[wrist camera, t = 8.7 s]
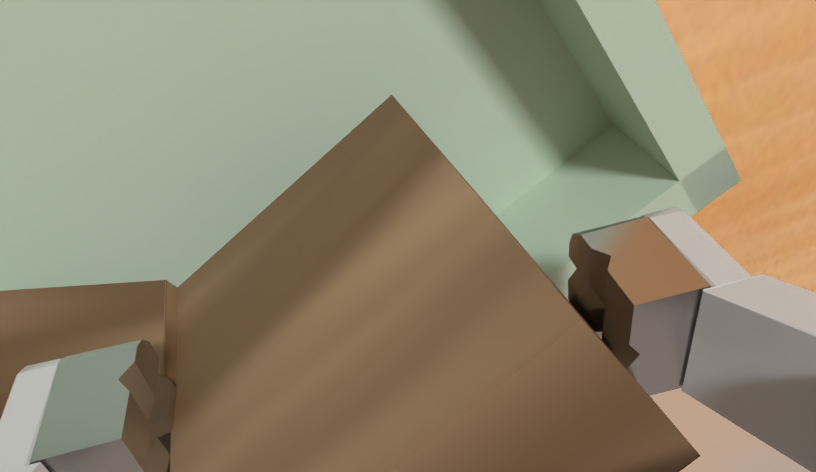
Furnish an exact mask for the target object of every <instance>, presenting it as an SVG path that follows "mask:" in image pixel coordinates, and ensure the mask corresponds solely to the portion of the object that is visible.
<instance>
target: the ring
mask: <svg viewBox="0 0 816 472" xmlns="http://www.w3.org/2000/svg"><path fill="white" fill-rule="evenodd" d="M138 340H145V341H149V342H150V343H151V345H152V347H153V348H154V350H155V352H156V353H157V355H158V357H159V358H160V359H159V368H158V374H159V375H161V376H163V377H165V378H167V379H170V380H172V382H173V384H174V386H175V388H176V390H177V394H176V404H175V415H174V425H173V429H172V431H171V450H170V472H679V471H680V470H682V469H683V468H685V467H686V466H687V465H689V464H690V463H691V462H693V461H694V460H695V459H697V458H698V457H699V456H700V455H699V454H698V452H697V451H696V450H695V449H694V448H693V447H692V445H691V444H690V443H689V442H688V441H687V440H686V438H685V437H684V436H683V435H682V434H681V433H680V431H679V430H678V429H677V428H676V427H675V425H674V424H673V423H672V422H671V421H670V420H669V418H668V417H667V416H666V415H665V414H664V412H663V411H662V410H661V409H660V408H659V407H658V405H657V404H656V403H655V402H654V401H653V399H652V398H651V397H650V396H649V395H648V394H647V392H646V391H645V390H644V389H643V388H642V387H641V385H640V384H639V383H638V382H637V381H636V379H635V378H634V377H633V376H632V375H631V374H630V373H629V371H628V370H627V369H626V368H625V367H624V366H623V364H622V363H621V362H620V361H619V360H618V359H617V357H616V356H615V355H614V354H613V353H612V351H611V350H610V349H609V348H608V347H607V346H606V344H605V343H604V342H603V341H602V339H601V338H600V337H599V336H598V335H597V334H596V332H595V331H594V330H593V329H592V328H591V327H590V325H589V324H588V323H587V322H586V321H585V320H584V318H583V317H582V316H581V315H580V314H579V312H578V311H577V310H576V309H575V308H574V307H573V305H572V304H571V303H570V302H569V301H568V299H567V298H566V297H565V296H564V295H563V294H562V292H561V291H560V290H559V289H558V288H557V286H556V285H555V284H554V283H553V282H552V281H551V279H550V278H549V277H548V276H547V275H546V274H545V272H544V271H543V270H542V269H541V268H540V266H539V265H538V264H537V263H536V262H535V261H534V259H533V258H532V257H531V256H530V255H529V254H528V252H527V251H526V250H525V249H524V248H523V246H522V245H521V244H520V243H519V242H518V241H517V239H516V238H515V237H514V236H513V235H512V233H511V232H510V231H509V230H508V229H507V228H506V226H505V225H504V224H503V223H502V222H501V221H500V219H499V218H498V217H497V216H496V215H495V213H494V212H493V211H492V210H491V209H490V208H489V206H488V205H487V204H486V203H485V202H484V201H483V199H482V198H481V197H480V196H479V195H478V194H477V193H476V191H475V190H474V189H473V188H472V187H471V186H470V184H469V183H468V182H467V181H466V180H465V179H464V177H463V176H462V175H461V174H460V173H459V172H458V171H457V169H456V168H455V167H454V166H453V165H452V164H451V162H450V161H449V160H448V159H447V158H446V157H445V155H444V154H443V153H442V152H441V151H440V150H439V149H438V147H437V146H436V145H435V144H434V143H433V142H432V140H431V139H430V138H429V137H428V136H427V135H426V133H425V132H424V131H423V130H422V129H421V128H420V127H419V125H418V124H417V123H416V122H415V121H414V120H413V118H412V117H411V116H410V115H409V114H408V113H407V111H406V110H405V109H404V108H403V107H402V106H401V105H400V103H399V102H398V101H397V100H396V99H395V98H394V96H393V95H391V96H390V97H388V98H387V99H386V100H385V101H384V102H383V103H382V104H381V105H380V106H378V107H377V108H376V109H375V110H374V111H373V112H372V113H371V114H370V115H368V116H367V117H366V118H365V119H364V120H363V121H362V122H361V123H360V124H359V125H357V126H356V127H355V128H354V129H353V130H352V131H351V132H350V133H349V134H347V135H346V136H345V137H344V138H343V139H342V140H341V141H340V142H339V143H337V144H336V145H335V146H334V147H333V148H332V149H331V150H330V151H329V152H327V153H326V154H325V155H324V156H323V157H322V158H321V159H320V160H319V161H317V162H316V163H315V164H314V165H313V166H312V167H311V168H310V169H309V170H307V171H306V172H305V173H304V174H303V175H302V176H301V177H300V178H299V179H297V180H296V181H295V182H294V183H293V184H292V185H291V186H290V187H289V188H287V189H286V190H285V191H284V192H283V193H282V194H281V195H280V196H279V197H277V198H276V199H275V200H274V201H273V202H272V203H271V204H270V205H269V206H267V207H266V208H265V209H264V210H263V211H262V212H261V213H260V214H259V215H257V216H256V217H255V218H254V219H253V220H252V221H251V222H250V223H249V224H247V225H246V226H245V227H244V228H243V229H242V230H241V231H240V232H239V233H237V234H236V235H235V236H234V237H233V238H232V239H231V240H230V241H229V242H227V243H226V244H225V245H224V246H223V247H222V248H221V249H220V250H219V251H217V252H216V253H215V254H214V255H213V256H212V257H211V258H210V259H209V260H207V261H206V262H205V263H204V264H203V265H202V266H201V267H200V268H199V269H197V270H196V271H195V272H194V273H193V274H192V275H191V276H190V277H189V278H187V279H186V280H185V281H184V282H183V283H182V284H181V285H180V286H179V287H176V286H175V285H173V284H172V283H170V282H169V281H167V280H157V281H142V282H126V283H111V284H96V285H80V286H65V287H50V288H35V289H19V290H4V291H0V419H1V416H2V413H3V411H4V408H5V405H6V402H7V400H8V397H9V394H10V391H11V389H12V386H13V383H14V380H15V378H16V376H17V374H18V373H19V372H20V371H21V370H22V369H23V368H24V367H26V366H29V365H33V364H38V363H42V362H47V361H51V360H56V359H61V358H65V357H66V356H70V355H75V354H79V353H84V352H88V351H93V350H97V349H102V348H106V347H111V346H115V345H120V344H124V343H129V342H133V341H138Z"/></svg>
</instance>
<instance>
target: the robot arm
mask: <svg viewBox="0 0 816 472" xmlns="http://www.w3.org/2000/svg"><path fill="white" fill-rule="evenodd" d="M569 258H570V259H571V261H572V262H573V264H574V265H575V267H576V268H577V269H576V270H575V271H574V273H573V274H572V275H571V277H570V278H569V279H568V300H569V302H570V303H571V304H572V305H573V307H574V308H575V309H576V310H577V311H578V312H579V314H580V315H581V316H582V317H583V318H584V320H585V321H586V322H587V323H588V324H589V325H590V327H591V328H592V329H593V330H594V331H595V332H596V334H597V335H598V336H599V337H600V338H601V339H602V341H603V342H604V343H605V344H606V346H607V347H608V348H609V349H610V350H611V351H612V353H613V354H614V355H615V356H616V357H617V359H618V360H619V361H620V362H621V363H622V364H623V366H624V367H625V368H626V369H627V370H628V371H629V373H630V374H631V375H632V376H633V377H634V378H635V379H636V381H637V382H638V383H639V384H640V385H641V387H642V388H643V389H644V390H645V391H646V392H647V394H648V395H653V394H658V393H661V392H665V391H669V390H674V389H678V388H682V391H683V392H685V393H686V394H688V395H690V396H691V397H693V398H694V399H696V400H698V401H699V402H701V403H703V404H704V405H706V406H707V407H709V408H710V409H712V410H714V411H715V412H717V413H719V414H720V415H721V416H723V417H725V418H726V419H728V420H730V421H731V422H733V423H734V424H736V425H737V426H739V427H741V428H742V429H744V430H745V431H747V432H749V433H750V434H752V435H753V436H755V437H757V438H758V439H760V440H762V441H763V442H765V443H766V444H768V445H769V446H771V447H773V448H774V449H776V450H777V451H779V452H781V453H782V454H784V455H785V456H787V457H789V458H790V459H792V460H793V461H795V462H797V463H798V464H800V465H801V466H803V467H805V468H806V469H808V470H810V471H811V472H816V293H814V292H812V291H809V290H806V289H803V288H800V287H797V286H795V285H792V284H789V283H786V282H783V281H780V280H778V279H775V278H772V277H769V276H766V275H763V274H762V275H758V276H754V277H752V276H751V275H750V274H749V273H748V272H747V271H746V270H745V269H744V268H742V267H741V266H740V265H739V264H738V263H737V262H736V261H735V260H734V259H733V258H732V257H731V256H730V255H729V254H728V253H727V252H726V251H725V250H724V249H723V248H722V247H721V246H720V245H719V244H718V243H717V242H716V241H715V240H714V239H713V238H712V237H711V236H709V235H708V234H707V233H706V232H705V231H704V230H703V229H702V228H701V227H700V226H699V225H698V224H697V223H696V222H695V221H694V220H693V219H692V218H691V217H690V216H689V215H688V214H687V213H686V212H685V211H684V210H682V209H679V208H676V207H672V208H668V209H664V210H660V211H657V212H653V213H649V214H645V215H642V216H640V217H637V218H632V219H628V220H625V221H621V222H617V223H613V224H609V225H605V226H601V227H597V228H593V229H589V230H585V231H581V232H577V233H573V234H572V237H571V239H570V242H569ZM159 359H160V358H159V357H158V355H157V353H156V352H155V350H154V348H153V347H152V345H151V343H150V342H149V341H145V340H138V341H133V342H129V343H124V344H120V345H115V346H111V347H106V348H102V349H97V350H93V351H88V352H84V353H79V354H75V355H70V356H66V357H65V358H61V359H56V360H51V361H47V362H42V363H38V364H33V365H29V366H26V367H24V368H23V369H22V370H21V371H20V372H19V373H18V374H17V376H16V378H15V380H14V383H13V386H12V389H11V391H10V394H9V397H8V400H7V402H6V405H5V408H4V411H3V413H2V416H1V419H0V472H170V450H171V431H172V429H173V425H174V415H175V404H176V394H177V390H176V388H175V386H174V384H173V382H172V380H170V379H167V378H165V377H163V376H161V375H159V374H158V368H159Z"/></svg>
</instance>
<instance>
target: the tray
mask: <svg viewBox="0 0 816 472" xmlns="http://www.w3.org/2000/svg"><path fill="white" fill-rule="evenodd" d="M391 95H393V96H394V98H395V99H396V100H397V101H398V102H399V103H400V105H401V106H402V107H403V108H404V109H405V110H406V111H407V113H408V114H409V115H410V116H411V117H412V118H413V120H414V121H415V122H416V123H417V124H418V125H419V127H420V128H421V129H422V130H423V131H424V132H425V133H426V135H427V136H428V137H429V138H430V139H431V140H432V142H433V143H434V144H435V145H436V146H437V147H438V149H439V150H440V151H441V152H442V153H443V154H444V155H445V157H446V158H447V159H448V160H449V161H450V162H451V164H452V165H453V166H454V167H455V168H456V169H457V171H458V172H459V173H460V174H461V175H462V176H463V177H464V179H465V180H466V181H467V182H468V183H469V184H470V186H471V187H472V188H473V189H474V190H475V191H476V193H477V194H478V195H479V196H480V197H481V198H482V199H483V201H484V202H485V203H486V204H487V205H488V206H489V208H490V209H491V210H492V211H493V212H494V213H495V215H496V216H497V217H498V218H499V219H500V221H501V222H502V223H503V224H504V225H505V226H506V228H507V229H508V230H509V231H510V232H511V233H512V235H513V236H514V237H515V238H516V239H517V241H518V242H519V243H520V244H521V245H522V246H523V248H524V249H525V250H526V251H527V252H528V254H529V255H530V256H531V257H532V258H533V259H534V261H535V262H536V263H537V264H538V265H539V266H540V268H541V269H542V270H543V271H544V272H545V274H546V275H547V276H548V277H549V278H550V279H551V281H552V282H553V283H554V284H555V285H556V286H557V288H558V289H559V290H560V291H561V292H562V294H563V295H564V296H565V297H566V298H567V299H568V279H569V278H570V277H571V275H572V274H573V273H574V271H575V270H576V269H577V268H576V267H575V265H574V264H573V262H572V261H571V259H570V258H569V242H570V239H571V237H572V234H573V233H577V232H581V231H585V230H589V229H593V228H597V227H601V226H605V225H609V224H613V223H617V222H621V221H625V220H628V219H632V218H637V217H640V216H642V215H645V214H649V213H653V212H657V211H660V210H664V209H668V208H672V207H676V208H679V209H682V210H684V211H685V212H686V213H687V214H688V215H689V216H690V217H691V216H692V215H694V214H695V213H696V212H698V211H699V210H701V209H702V208H703V207H705V206H706V205H708V204H709V203H710V202H712V201H713V200H715V199H716V198H717V197H719V196H720V195H721V194H723V193H724V192H726V191H727V190H728V189H730V188H731V187H733V186H734V185H735V184H737V183H738V182H740V181H741V179H740V177H739V175H738V173H737V170H736V168H735V166H734V164H733V162H732V160H731V158H730V156H729V154H728V152H727V149H726V147H725V145H724V143H723V141H722V139H721V137H720V135H719V133H718V131H717V128H716V126H715V124H714V122H713V120H712V118H711V116H710V114H709V112H708V110H707V108H706V105H705V103H704V101H703V99H702V97H701V95H700V93H699V91H698V89H697V87H696V84H695V82H694V80H693V78H692V76H691V74H690V72H689V70H688V68H687V66H686V63H685V61H684V59H683V57H682V55H681V53H680V51H679V49H678V47H677V45H676V42H675V40H674V38H673V36H672V34H671V32H670V30H669V28H668V26H667V24H666V22H665V19H664V17H663V15H662V13H661V11H660V9H659V7H658V5H657V3H656V1H655V0H0V291H4V290H19V289H35V288H50V287H65V286H80V285H96V284H111V283H126V282H142V281H157V280H167V281H169V282H170V283H172V284H173V285H175V286H176V287H179V286H180V285H181V284H182V283H183V282H184V281H185V280H186V279H187V278H189V277H190V276H191V275H192V274H193V273H194V272H195V271H196V270H197V269H199V268H200V267H201V266H202V265H203V264H204V263H205V262H206V261H207V260H209V259H210V258H211V257H212V256H213V255H214V254H215V253H216V252H217V251H219V250H220V249H221V248H222V247H223V246H224V245H225V244H226V243H227V242H229V241H230V240H231V239H232V238H233V237H234V236H235V235H236V234H237V233H239V232H240V231H241V230H242V229H243V228H244V227H245V226H246V225H247V224H249V223H250V222H251V221H252V220H253V219H254V218H255V217H256V216H257V215H259V214H260V213H261V212H262V211H263V210H264V209H265V208H266V207H267V206H269V205H270V204H271V203H272V202H273V201H274V200H275V199H276V198H277V197H279V196H280V195H281V194H282V193H283V192H284V191H285V190H286V189H287V188H289V187H290V186H291V185H292V184H293V183H294V182H295V181H296V180H297V179H299V178H300V177H301V176H302V175H303V174H304V173H305V172H306V171H307V170H309V169H310V168H311V167H312V166H313V165H314V164H315V163H316V162H317V161H319V160H320V159H321V158H322V157H323V156H324V155H325V154H326V153H327V152H329V151H330V150H331V149H332V148H333V147H334V146H335V145H336V144H337V143H339V142H340V141H341V140H342V139H343V138H344V137H345V136H346V135H347V134H349V133H350V132H351V131H352V130H353V129H354V128H355V127H356V126H357V125H359V124H360V123H361V122H362V121H363V120H364V119H365V118H366V117H367V116H368V115H370V114H371V113H372V112H373V111H374V110H375V109H376V108H377V107H378V106H380V105H381V104H382V103H383V102H384V101H385V100H386V99H387V98H388V97H390V96H391ZM568 301H569V300H568Z"/></svg>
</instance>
